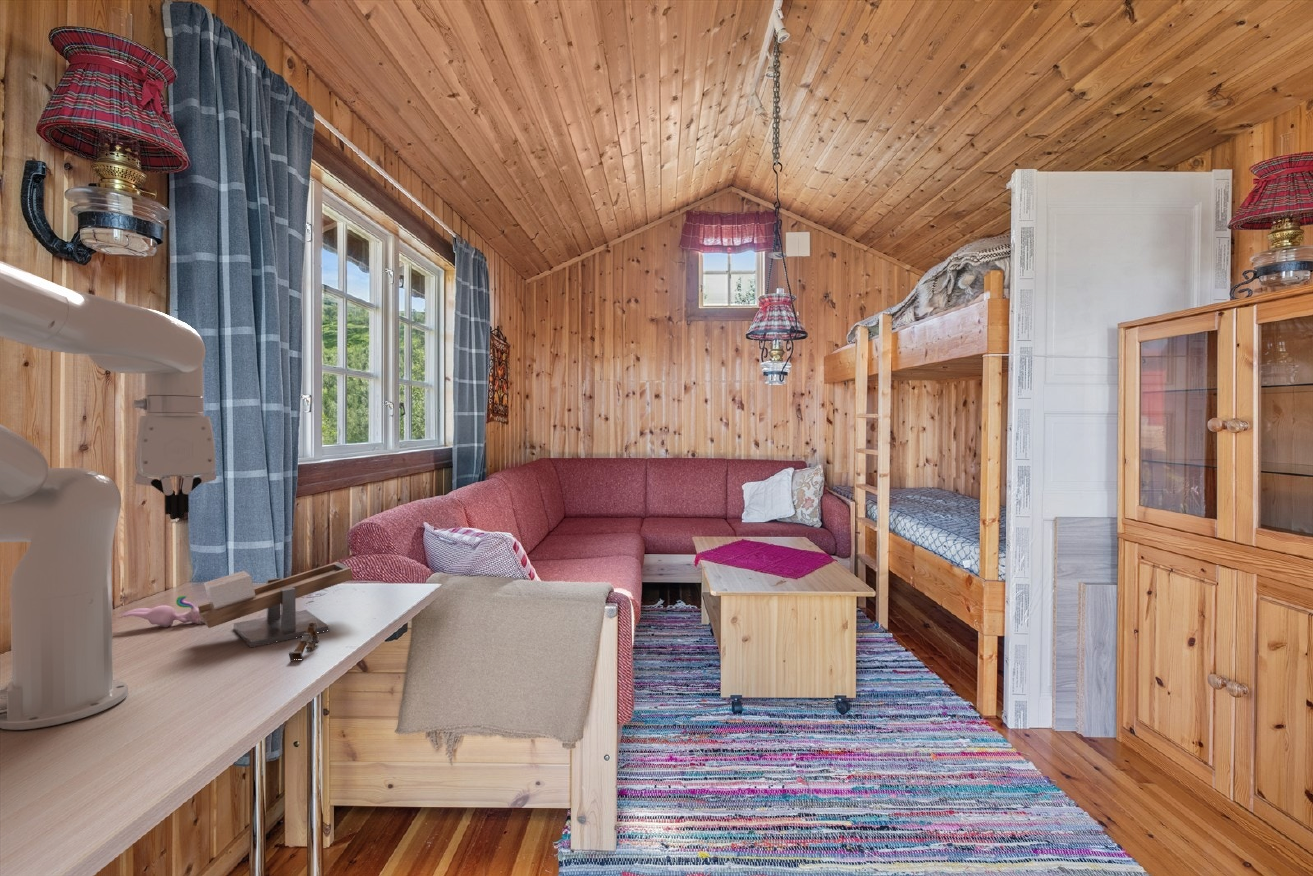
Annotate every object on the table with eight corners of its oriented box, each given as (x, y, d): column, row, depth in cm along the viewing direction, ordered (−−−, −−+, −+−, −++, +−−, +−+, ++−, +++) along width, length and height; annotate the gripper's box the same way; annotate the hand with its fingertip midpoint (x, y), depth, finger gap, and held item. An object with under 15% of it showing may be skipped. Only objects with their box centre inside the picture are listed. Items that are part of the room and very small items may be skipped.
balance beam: (208, 628, 100) (205, 615, 100) (200, 617, 106) (197, 605, 106) (353, 579, 116) (351, 568, 116) (339, 572, 122) (337, 561, 122)
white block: (216, 616, 102) (209, 588, 102) (210, 609, 106) (203, 582, 105) (257, 602, 106) (250, 575, 106) (250, 596, 110) (244, 570, 109)
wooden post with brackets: (324, 637, 105) (320, 617, 103) (305, 673, 98) (300, 652, 96) (313, 638, 105) (308, 617, 103) (294, 673, 97) (288, 652, 95)
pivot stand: (250, 648, 102) (250, 597, 102) (233, 628, 112) (233, 582, 112) (328, 631, 111) (328, 584, 110) (306, 614, 121) (305, 572, 120)
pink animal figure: (219, 623, 120) (124, 620, 114) (225, 593, 120) (130, 589, 114) (211, 633, 114) (110, 630, 108) (217, 601, 114) (117, 597, 108)
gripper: (116, 406, 92) (118, 526, 93) (234, 408, 103) (235, 516, 103) (113, 407, 98) (115, 520, 98) (225, 409, 108) (226, 511, 109)
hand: (176, 518), depth 101 cm, fingers closed
